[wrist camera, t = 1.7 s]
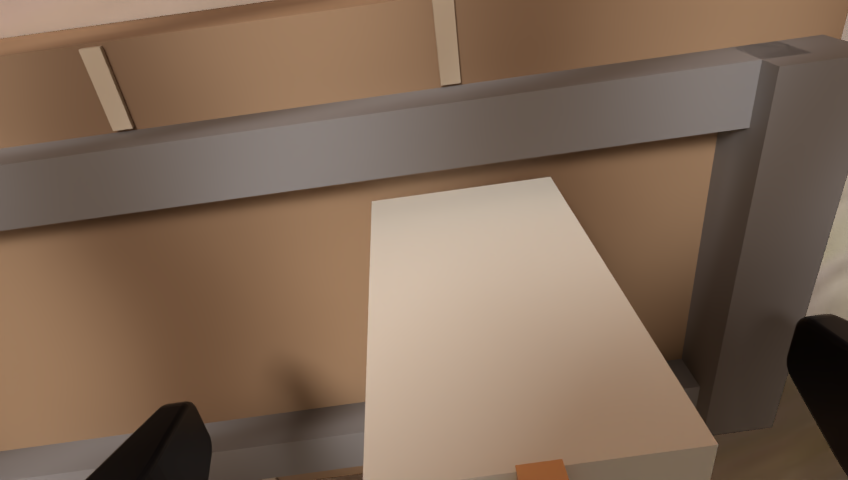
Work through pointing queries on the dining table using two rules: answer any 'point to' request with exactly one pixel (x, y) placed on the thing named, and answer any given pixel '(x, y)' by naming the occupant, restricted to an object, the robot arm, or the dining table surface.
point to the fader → (512, 350)
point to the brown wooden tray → (385, 179)
